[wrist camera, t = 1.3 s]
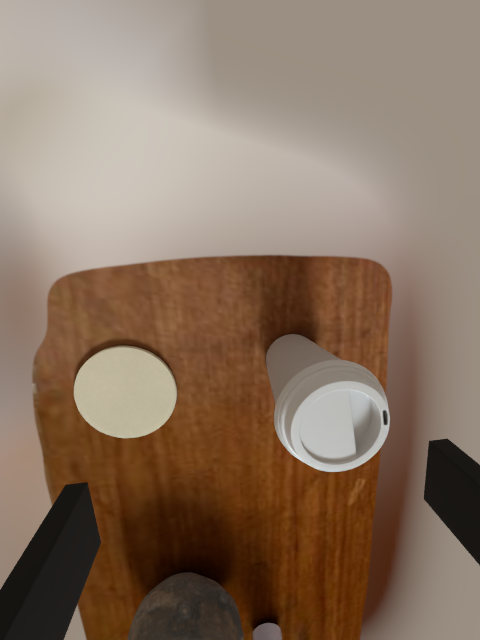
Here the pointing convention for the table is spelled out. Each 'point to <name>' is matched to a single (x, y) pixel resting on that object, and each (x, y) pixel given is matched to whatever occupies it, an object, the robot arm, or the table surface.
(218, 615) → the bowl
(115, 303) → the table surface
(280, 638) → the perfume bottle
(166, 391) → the cream mat
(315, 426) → the coffee cup
